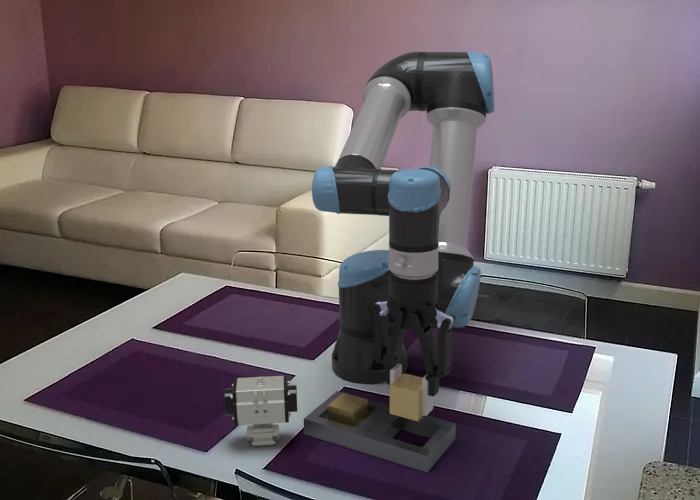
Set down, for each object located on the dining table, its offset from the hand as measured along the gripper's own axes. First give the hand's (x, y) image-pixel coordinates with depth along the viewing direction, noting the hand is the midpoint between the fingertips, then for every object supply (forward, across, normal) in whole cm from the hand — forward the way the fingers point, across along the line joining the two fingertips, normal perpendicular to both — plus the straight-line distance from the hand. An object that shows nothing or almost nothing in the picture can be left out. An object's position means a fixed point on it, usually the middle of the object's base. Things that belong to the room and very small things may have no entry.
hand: (411, 407), depth 127 cm
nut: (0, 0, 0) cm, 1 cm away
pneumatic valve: (+8, -22, -11) cm, 26 cm away
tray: (+7, -6, 0) cm, 10 cm away
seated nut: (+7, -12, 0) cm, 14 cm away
